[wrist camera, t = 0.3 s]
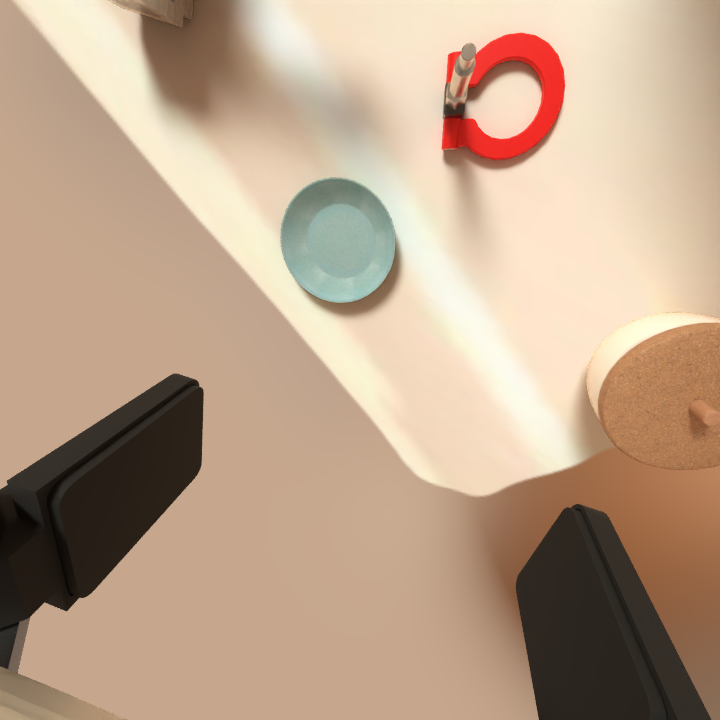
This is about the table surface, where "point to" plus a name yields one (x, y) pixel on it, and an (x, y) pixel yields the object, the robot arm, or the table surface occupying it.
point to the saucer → (338, 240)
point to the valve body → (160, 9)
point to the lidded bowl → (661, 389)
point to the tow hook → (468, 72)
